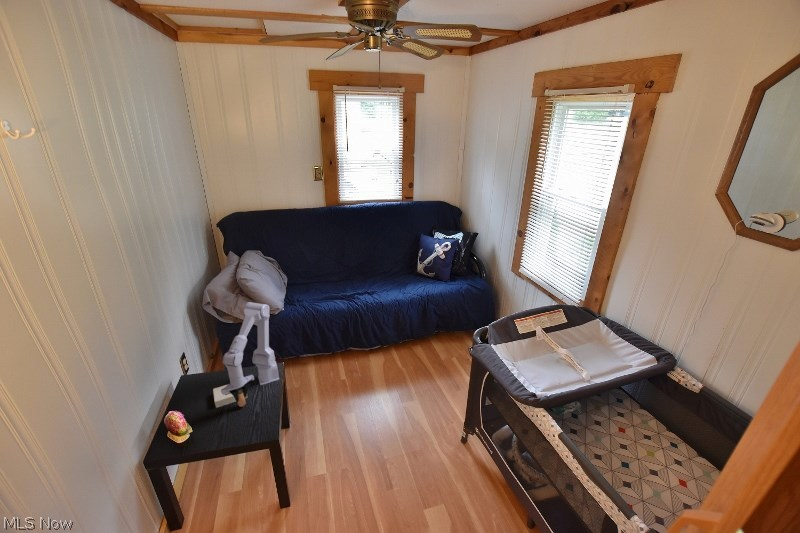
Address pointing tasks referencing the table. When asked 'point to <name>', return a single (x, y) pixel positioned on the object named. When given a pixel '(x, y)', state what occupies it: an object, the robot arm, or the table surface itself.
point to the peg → (240, 397)
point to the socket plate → (222, 397)
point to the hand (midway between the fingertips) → (240, 398)
